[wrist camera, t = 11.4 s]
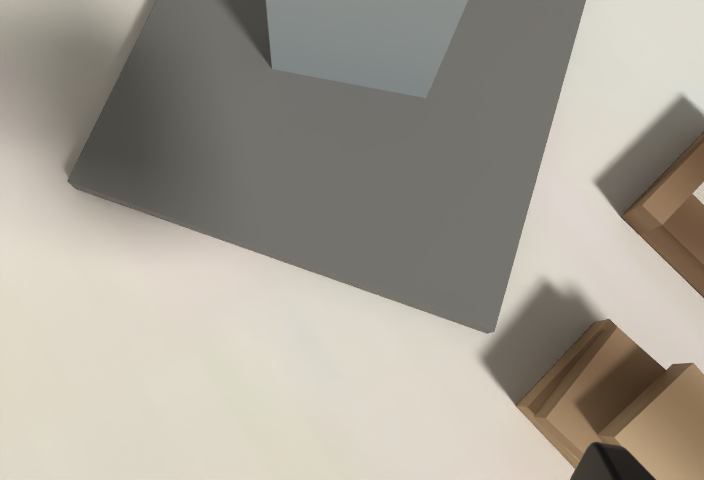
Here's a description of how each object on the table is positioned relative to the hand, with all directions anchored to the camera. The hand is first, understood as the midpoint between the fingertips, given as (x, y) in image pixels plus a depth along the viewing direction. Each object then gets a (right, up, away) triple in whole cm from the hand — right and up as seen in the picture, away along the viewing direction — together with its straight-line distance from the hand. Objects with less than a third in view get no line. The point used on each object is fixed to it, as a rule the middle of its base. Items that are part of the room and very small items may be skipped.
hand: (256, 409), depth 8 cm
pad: (+1, +9, +16) cm, 18 cm away
